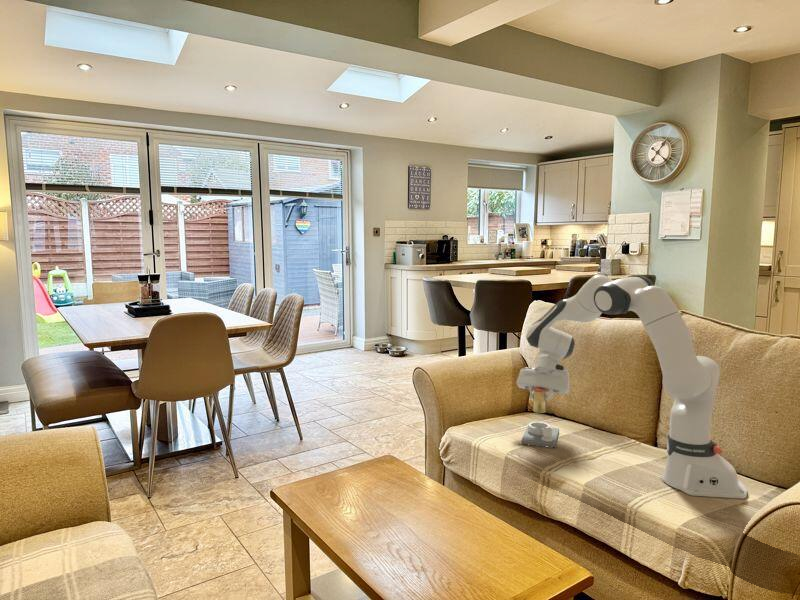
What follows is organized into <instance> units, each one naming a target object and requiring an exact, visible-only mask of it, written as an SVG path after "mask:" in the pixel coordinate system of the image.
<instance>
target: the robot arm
mask: <svg viewBox="0 0 800 600" xmlns="http://www.w3.org/2000/svg"><path fill="white" fill-rule="evenodd" d="M630 311H631V312H633V313H635V314H636V315H637V316H638V317H639V319H640V322H641V324H642V325H643V329H645V332H646V333H647V335H648V337H649V339H650V341H651V343H652V345H653V347H654V350H655V353H656V355H657V359H658V362H659V367H660V370H661V373H662V387H663V389H664V390H665V392H666V393H667V394H668V395H669V396H671V397H672V398H674V400H673V404H672V407H671V409H670V412H669V416H670V417H669V434H668V435H667V441H666V452H667V458H666V462H665V463H666V464H665V467H664V471H663V473H662V476H661V479H662V481H663V482H664V483H665V484H667V485H668V486H670V487H672V488H674V489H677V490H679V491H682V492H683V493H685V494H687V495H689V496H692V497H693V496H694V497H709V498H710V497H711V498H725V499H726V498H727V499H743V500H744V499H745V498H746V497H748V490H747V488H746V485H745V484H744V483H743V482H742V481H740V480H739V477H738V473H737V471H736V469H735V467H734V466H733V465H732V464H731V463H730V462H728V461H727V460H726V459H725V458H724V457H722V456H721V453H722V452H723V451H722V448H721V447H720V446H719V445H718V444H717V442H715V441H714V440H713V439H711V431H712V430H711V429H712V416H713V415H712V414H713V410H714V407H715V401H716V396H717V392H718V391H717V390H718V383H719V380H720V377H721V369H720V366H719V364H718V363H717V361H715V360H713V359H712V358H710V357H708V356H703V355H702V356H701V355H696V351H695V346H694V344H693V336H692V332H691V331H690V329H689V327H688V325H687V324H686V322H685V320H684V318H683V317H682V315H681V313H680V311H679V309H678V308H677V306H676V304H675V303H674V301H673V299H672V298H671V297H670V296H669V294H668V292H666V290H664V288H663V287H661V286H658V285H655V284H654V282H653V281H652V280H651V279H650V278H648V277H647V276H644V275H632V276H628V277H623V278H617V279H612V278H611V277H609V276H607V275H604V274H595V275H593V276H592V277H591V278H589V279H588V280H587V281H586V282H585V283H584V284H583V285H582V287H580V289H579V290H578V292H577V293H575V295H573V296H571V297H568V298H564V299H560V300H559V301H558V302H557V303H555V304H554V305H553V306H552V307H551V308H550V309H549V310H548V311H547V312H546V313H544V314H543V315H542V316H541V318H539V319H538V320H537V321H535V322H534V323H532V324H531V325H530V327H529V328H528V330H527V333H526V337H525V338H526V340H527V342H528V344H529V346H531V347H533V348H537V349H539V351H538V353H539V354H538V355H539V356H538V357H537V359H536V363H535V366H534V367H528V366H525V367H521V369H520V370H519V373H518V376H517V378H516V379H517V380H516V385H517V386H518V388H519V389H523V390H528V391H529V400H534V388H536V387H540V388H545V393H546V392H548V394H545V398H544V400H545V402H550V398H552V397H553V396H554V394H563V395H567V394H568V393H569V392H570V390H571V389H570V386H571V384H570V373H569V370H568V368H567V366H565V365H562V364H561V363H560V361H561V360H565V359H567V358H569V357H570V356H571V355H572V354H573V352H574V350H575V349H574V348H575V339H574V337H573V335H571V334H570V333H567V332H565V331H563V330H560V329H558V328H557V329H556V328H554V327H553V325H554V324H556V322H559V321H563V320H564V321H574V322H579V323H589V322H593V321H595V320H596V319H598V318H599V317H600V316H601V315H602V314H605V315H620V314H627V313H628V312H630Z"/></svg>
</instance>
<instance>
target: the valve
mask: <svg viewBox="0 0 800 600" xmlns="http://www.w3.org/2000/svg"><path fill="white" fill-rule="evenodd" d="M533 394H534V399H533V409H532V410H533V412H534V413H536V414H544V413H546V401H545V400H544V398H545V395H546V391H545V388H540V387H536V388H534V390H533Z"/></svg>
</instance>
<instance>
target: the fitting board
mask: <svg viewBox="0 0 800 600" xmlns="http://www.w3.org/2000/svg"><path fill="white" fill-rule="evenodd" d="M559 432H560V428H557V427H551V425H550V424H549V423H547V422H542V421H532V422H529V423H528V425H527V426H526V429H525V430H524V434H523V436H522V439H521V445H522V444H529V445H528V446H531V445H537V446H536V447H539V446H548V447H555V448H556V446H555V445H557V442H558V437H559ZM556 441H557V442H556Z"/></svg>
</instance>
